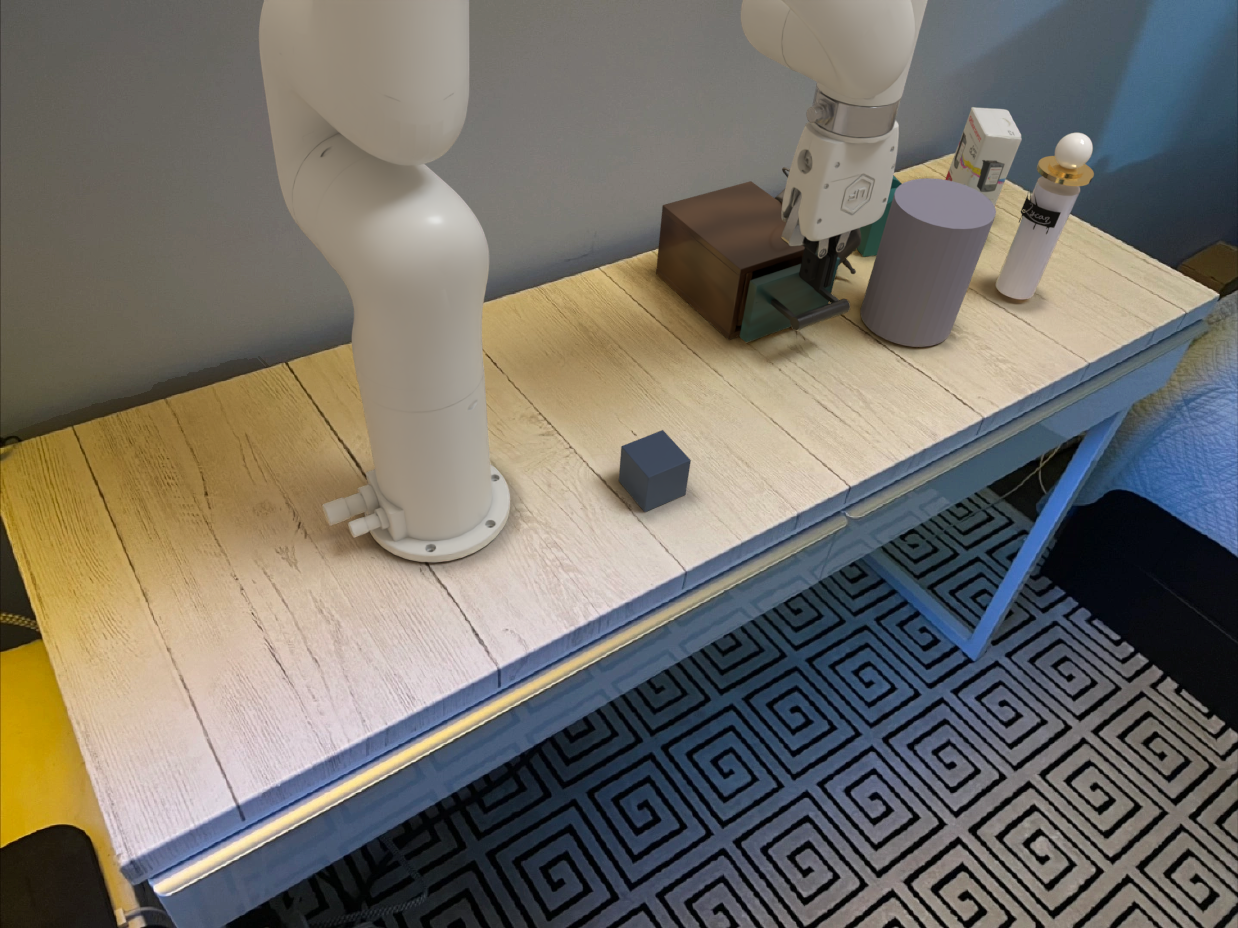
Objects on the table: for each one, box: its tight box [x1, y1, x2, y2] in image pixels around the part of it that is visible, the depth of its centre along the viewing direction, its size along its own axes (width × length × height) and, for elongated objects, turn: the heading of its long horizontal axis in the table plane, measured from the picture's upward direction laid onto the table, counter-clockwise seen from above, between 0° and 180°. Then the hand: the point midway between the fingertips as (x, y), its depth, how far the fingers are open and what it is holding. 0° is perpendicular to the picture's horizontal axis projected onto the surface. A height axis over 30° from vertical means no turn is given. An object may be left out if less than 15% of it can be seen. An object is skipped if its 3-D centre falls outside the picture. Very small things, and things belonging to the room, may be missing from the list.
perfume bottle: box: [994, 132, 1095, 300], centre depth 103 cm, size 6×6×20 cm
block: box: [618, 429, 692, 513], centre depth 83 cm, size 4×4×4 cm
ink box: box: [944, 106, 1022, 207], centre depth 121 cm, size 9×5×12 cm, turn 177°
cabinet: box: [655, 180, 805, 341], centre depth 104 cm, size 15×13×9 cm
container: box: [860, 177, 997, 348], centre depth 100 cm, size 10×10×15 cm
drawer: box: [736, 255, 851, 344], centre depth 101 cm, size 18×11×7 cm, turn 32°
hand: (814, 281), depth 95 cm, fingers closed
